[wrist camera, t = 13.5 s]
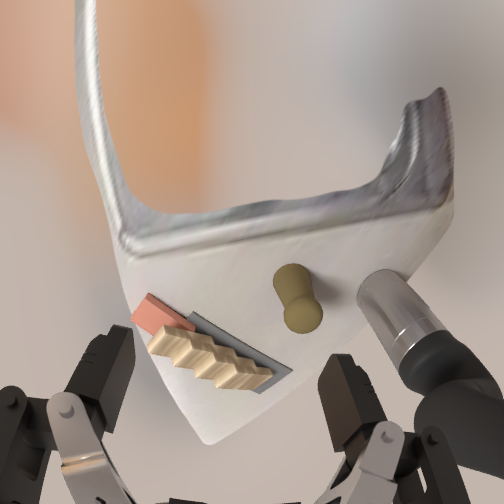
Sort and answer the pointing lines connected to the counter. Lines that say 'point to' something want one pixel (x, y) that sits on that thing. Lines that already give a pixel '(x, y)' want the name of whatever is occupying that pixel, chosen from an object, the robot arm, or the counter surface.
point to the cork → (297, 298)
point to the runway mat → (240, 350)
